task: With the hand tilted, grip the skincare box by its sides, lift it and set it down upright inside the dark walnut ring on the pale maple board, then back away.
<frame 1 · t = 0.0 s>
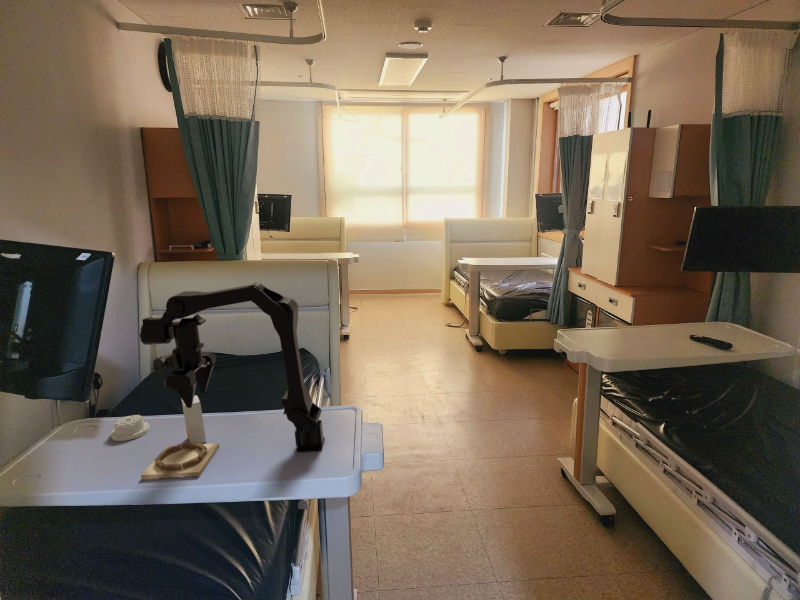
hand: (196, 400, 128), 15 cm above the table, tool pointing down, fingers open, 9 cm apart
skincare box: (197, 440, 138), on the table
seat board: (182, 462, 126), on the table
mechanical component: (131, 434, 145), on the table
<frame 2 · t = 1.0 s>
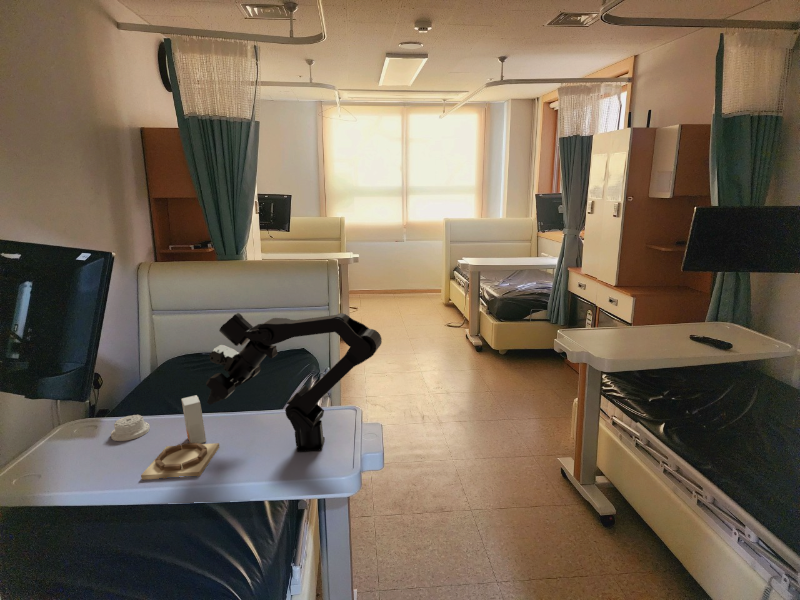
hand: (218, 396, 133), 13 cm above the table, tool tilted 45°, fingers open, 9 cm apart
nothing on the table moved.
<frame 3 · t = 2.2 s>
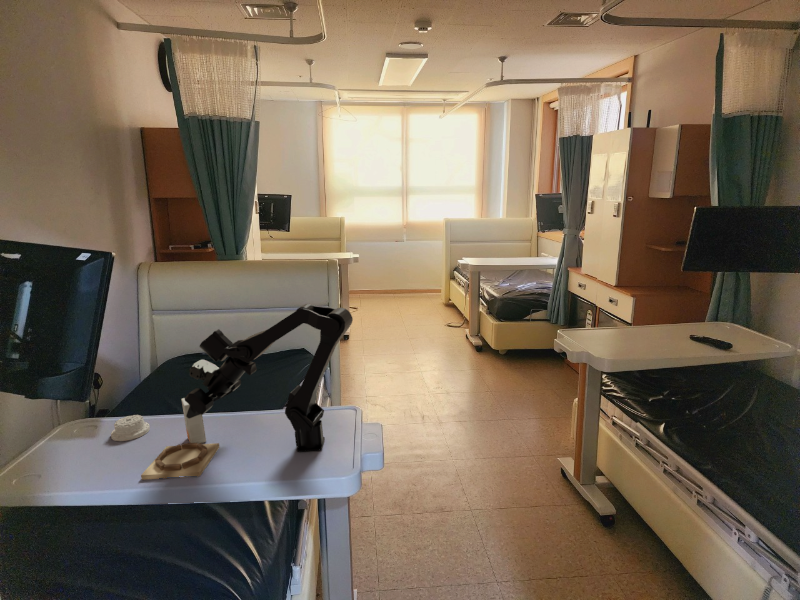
hand: (197, 409, 136), 9 cm above the table, tool tilted 45°, fingers open, 9 cm apart
nothing on the table moved.
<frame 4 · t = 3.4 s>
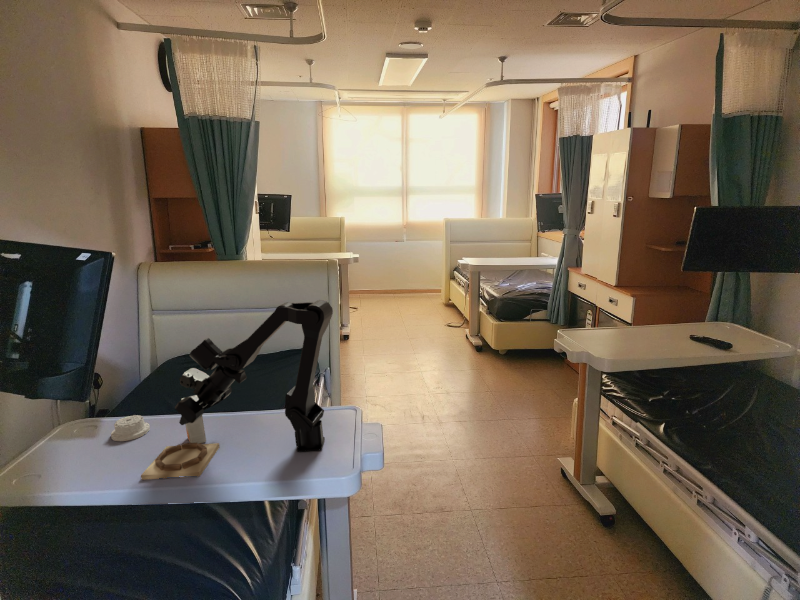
hand: (189, 417, 137), 7 cm above the table, tool tilted 45°, fingers closed on skincare box, 7 cm apart
skincare box: (196, 440, 138), on the table, touching gripper
everything else where it was.
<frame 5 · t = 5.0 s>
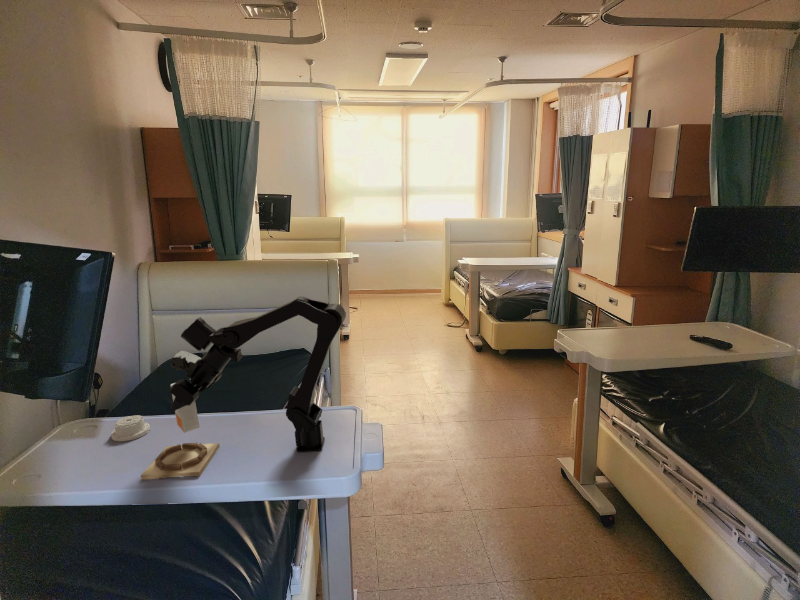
hand: (179, 403, 131), 13 cm above the table, tool tilted 45°, fingers closed on skincare box, 7 cm apart
skincare box: (188, 427, 132), point 6 cm above the table, touching gripper
everything else where it was.
when the fingers open (9 cm above the table, at t = 6.9 s): skincare box stays where it is, resting on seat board.
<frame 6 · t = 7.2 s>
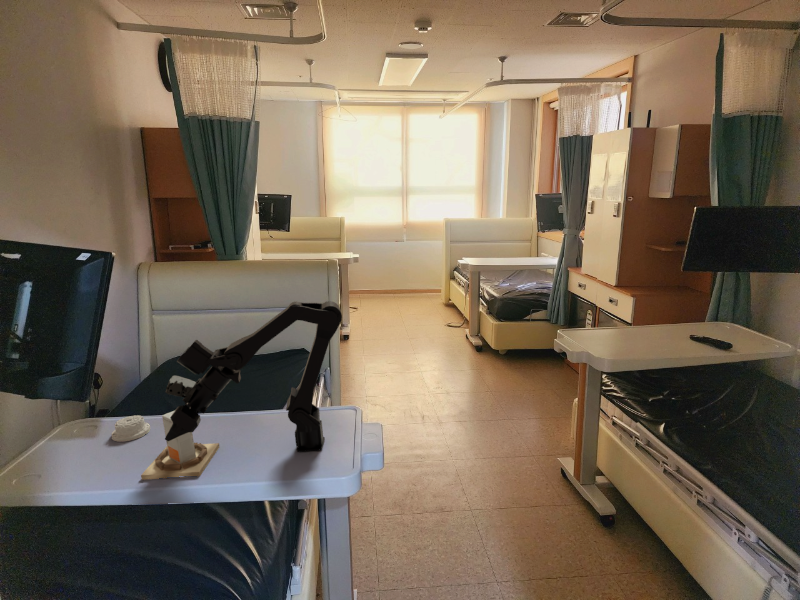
hand: (171, 431, 124), 9 cm above the table, tool tilted 45°, fingers open, 9 cm apart
skincare box: (182, 459, 126), point 1 cm above the table, touching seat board
everything else where it was.
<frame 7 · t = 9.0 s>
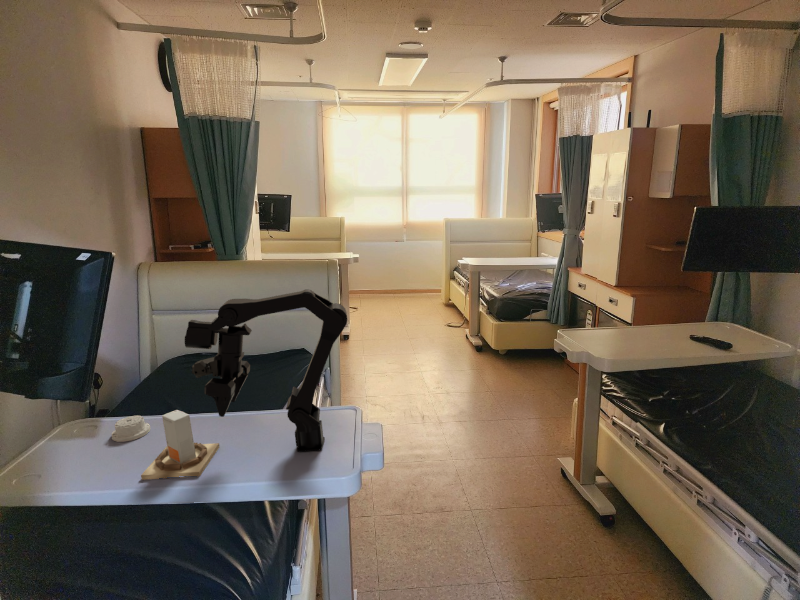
hand: (227, 408, 126), 13 cm above the table, tool pointing down, fingers open, 9 cm apart
nothing on the table moved.
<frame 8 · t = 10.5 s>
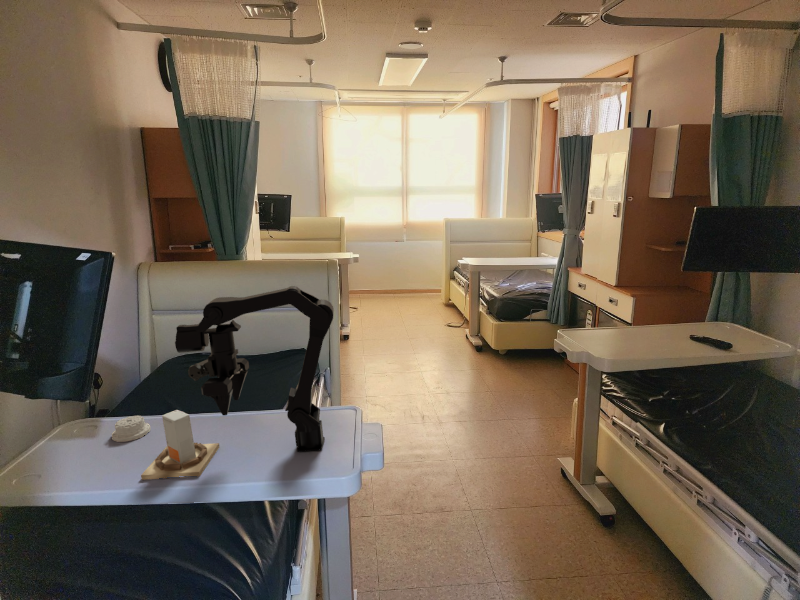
hand: (230, 407, 127), 13 cm above the table, tool pointing down, fingers open, 9 cm apart
nothing on the table moved.
at the end: skincare box inside the target area on the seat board (0.2 cm from its centre), point 1.0 cm above the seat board's base; skincare box tilted 0°; the gripper is holding nothing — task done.
